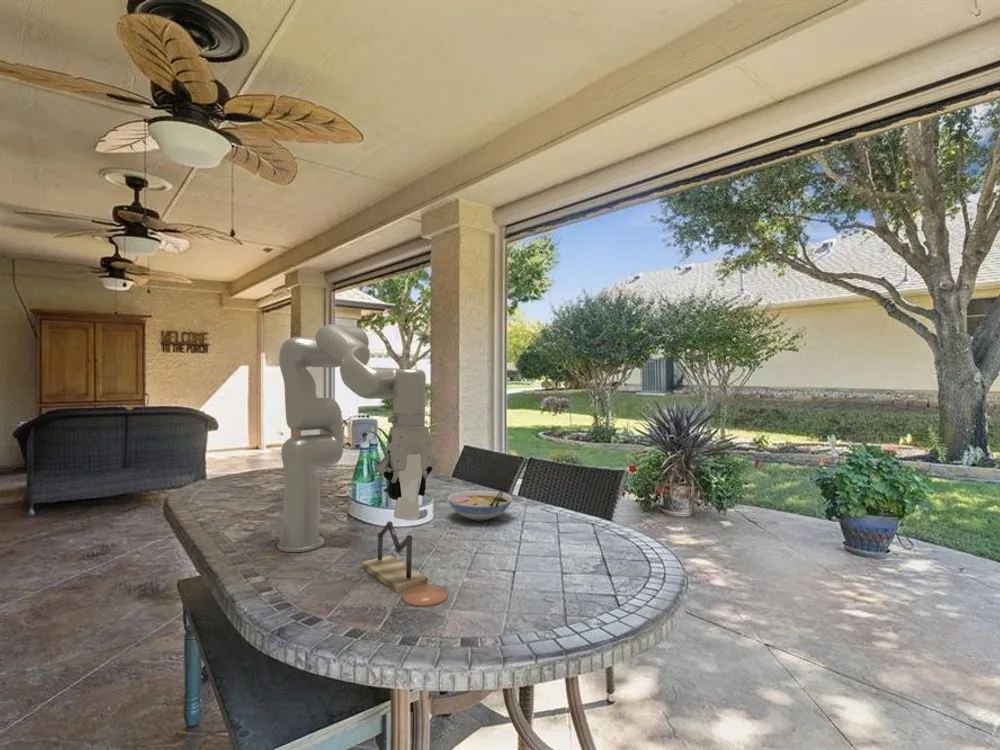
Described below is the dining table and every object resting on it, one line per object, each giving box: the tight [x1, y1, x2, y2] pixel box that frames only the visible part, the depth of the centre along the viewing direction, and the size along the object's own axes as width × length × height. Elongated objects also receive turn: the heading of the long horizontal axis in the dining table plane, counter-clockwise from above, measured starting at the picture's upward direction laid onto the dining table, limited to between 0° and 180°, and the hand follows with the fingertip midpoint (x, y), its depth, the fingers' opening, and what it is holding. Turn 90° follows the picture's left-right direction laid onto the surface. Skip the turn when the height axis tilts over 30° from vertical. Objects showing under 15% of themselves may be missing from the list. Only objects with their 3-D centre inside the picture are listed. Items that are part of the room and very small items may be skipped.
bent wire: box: [376, 521, 414, 578], centre depth 123 cm, size 16×2×11 cm, turn 40°
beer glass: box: [393, 454, 423, 520], centre depth 118 cm, size 7×7×15 cm
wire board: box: [361, 555, 429, 593], centre depth 123 cm, size 19×8×2 cm, turn 40°
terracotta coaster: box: [401, 584, 449, 608], centre depth 111 cm, size 10×10×1 cm
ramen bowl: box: [447, 489, 513, 522], centre depth 175 cm, size 25×23×8 cm
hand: (407, 496), depth 118 cm, fingers closed on beer glass, 6 cm apart
